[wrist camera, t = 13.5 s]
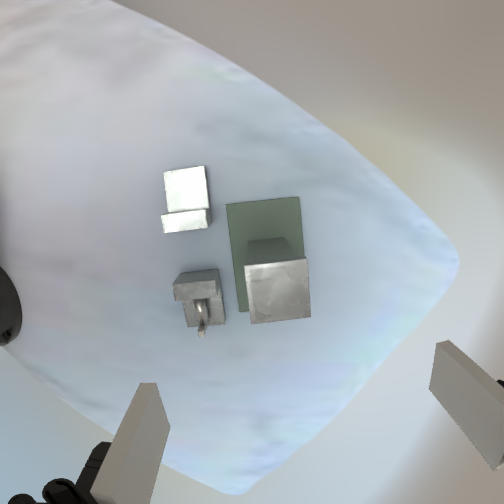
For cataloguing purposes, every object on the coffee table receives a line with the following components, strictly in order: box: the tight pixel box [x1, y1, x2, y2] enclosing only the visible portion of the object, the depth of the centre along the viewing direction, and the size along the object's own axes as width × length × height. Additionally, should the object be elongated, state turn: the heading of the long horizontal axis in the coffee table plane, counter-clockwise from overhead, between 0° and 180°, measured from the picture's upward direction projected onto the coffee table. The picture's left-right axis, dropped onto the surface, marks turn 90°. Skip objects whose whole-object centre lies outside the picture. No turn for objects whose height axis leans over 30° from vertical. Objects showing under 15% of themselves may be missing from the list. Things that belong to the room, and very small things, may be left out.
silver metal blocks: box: [161, 166, 226, 337], centre depth 38 cm, size 5×20×6 cm, turn 6°
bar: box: [244, 237, 311, 324], centre depth 34 cm, size 5×5×14 cm
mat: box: [226, 197, 304, 312], centre depth 41 cm, size 9×14×1 cm, turn 6°
